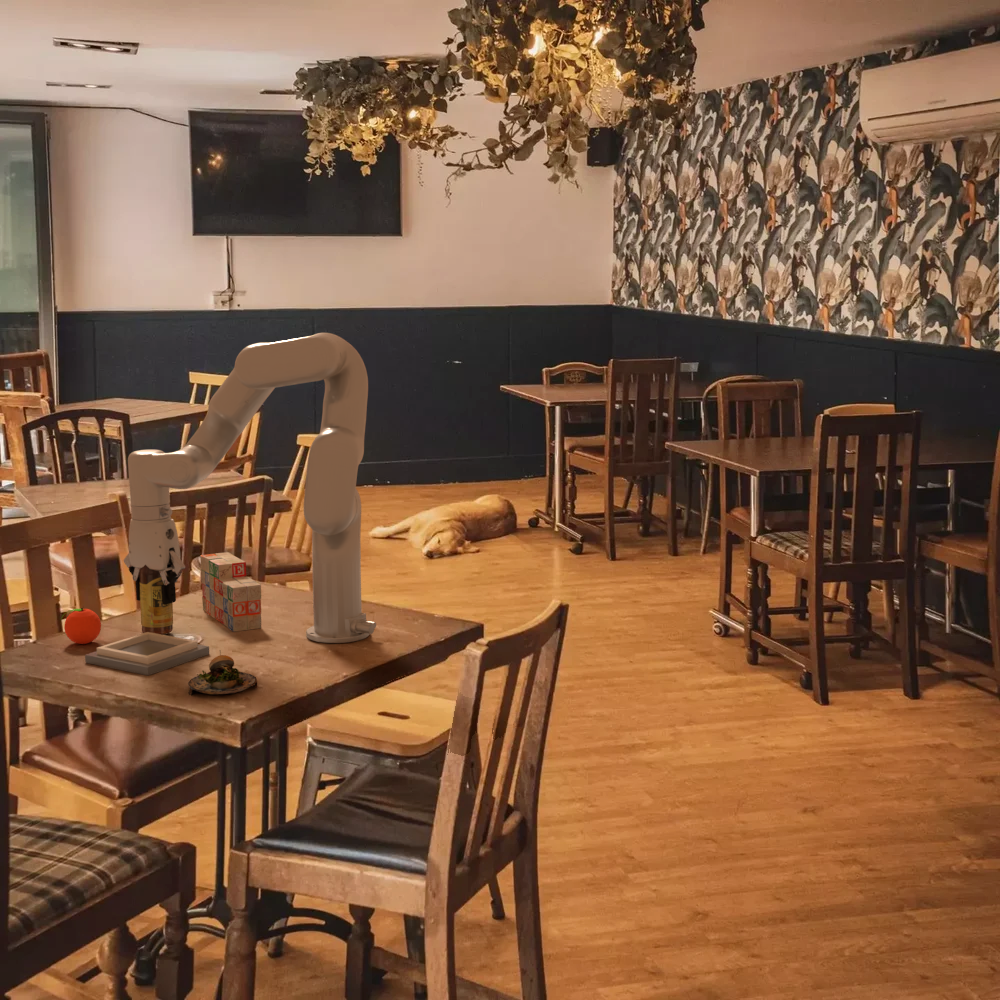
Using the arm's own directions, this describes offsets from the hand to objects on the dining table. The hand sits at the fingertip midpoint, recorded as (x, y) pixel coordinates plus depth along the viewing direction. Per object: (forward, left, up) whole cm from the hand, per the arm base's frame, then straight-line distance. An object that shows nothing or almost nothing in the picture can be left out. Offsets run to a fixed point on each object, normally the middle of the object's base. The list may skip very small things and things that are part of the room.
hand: (156, 600), depth 271 cm
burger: (-36, +20, -8) cm, 42 cm away
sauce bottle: (0, 0, -7) cm, 7 cm away
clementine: (+8, +12, -7) cm, 17 cm away
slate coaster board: (-11, +13, -7) cm, 18 cm away
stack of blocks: (-4, -17, -7) cm, 19 cm away
